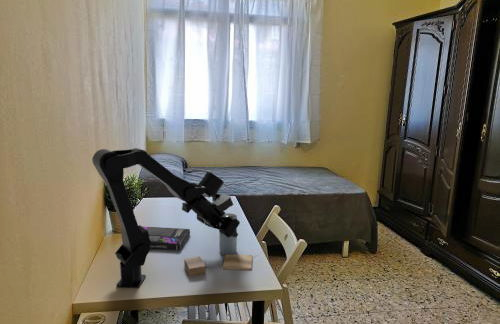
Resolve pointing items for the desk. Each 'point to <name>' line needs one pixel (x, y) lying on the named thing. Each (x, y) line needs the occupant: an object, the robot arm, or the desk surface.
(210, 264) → the desk surface
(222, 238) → the tumbler
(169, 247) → the box
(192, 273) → the walnut block
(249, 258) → the coaster
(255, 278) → the desk surface
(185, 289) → the desk surface
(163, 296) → the desk surface
